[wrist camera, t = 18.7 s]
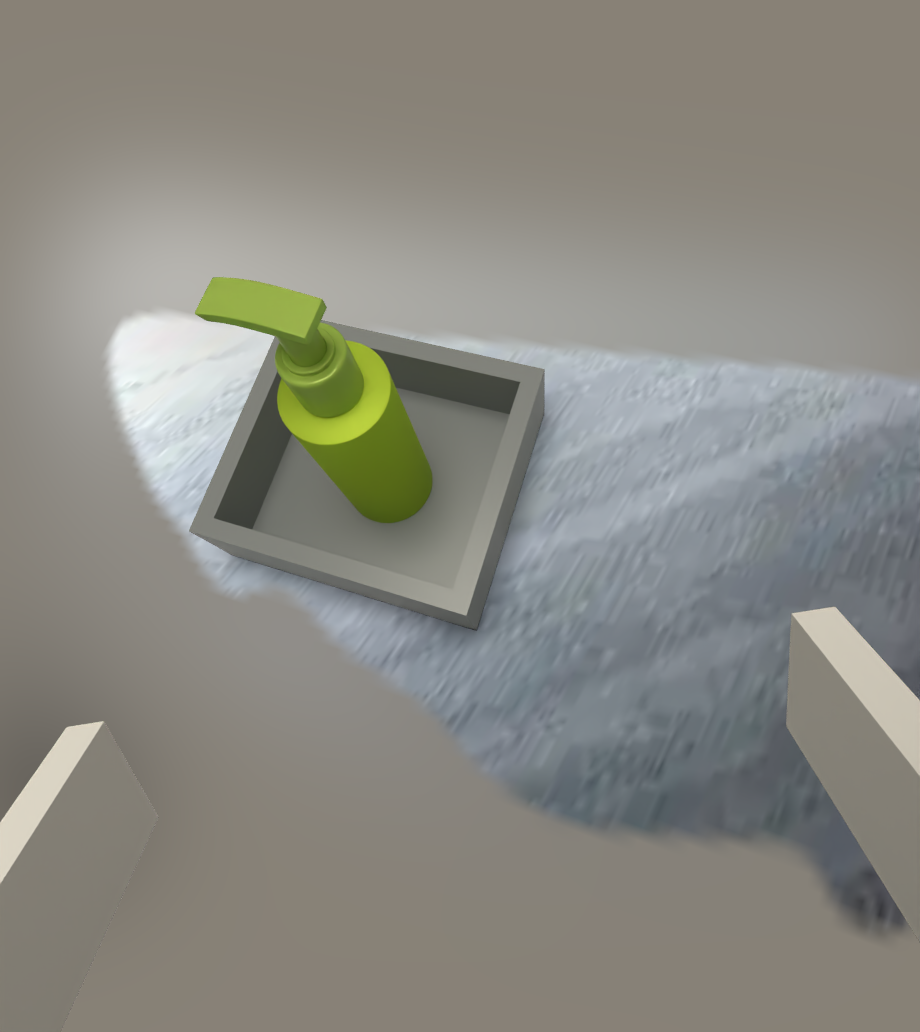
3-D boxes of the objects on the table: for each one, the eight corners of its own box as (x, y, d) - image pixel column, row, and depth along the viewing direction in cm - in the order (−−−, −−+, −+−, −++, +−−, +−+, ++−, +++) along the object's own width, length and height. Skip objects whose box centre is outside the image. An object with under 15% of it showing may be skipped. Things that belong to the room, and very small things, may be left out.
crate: (544, 412, 47) (544, 369, 41) (476, 630, 43) (466, 615, 37) (314, 358, 51) (285, 312, 45) (232, 555, 47) (188, 531, 41)
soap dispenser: (353, 430, 47) (226, 231, 28) (444, 455, 46) (374, 263, 27) (322, 505, 46) (166, 347, 27) (415, 533, 44) (319, 388, 26)
